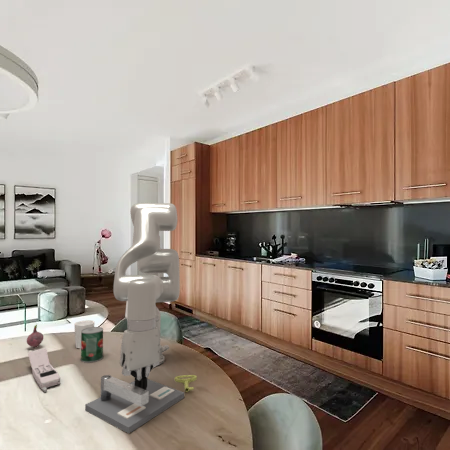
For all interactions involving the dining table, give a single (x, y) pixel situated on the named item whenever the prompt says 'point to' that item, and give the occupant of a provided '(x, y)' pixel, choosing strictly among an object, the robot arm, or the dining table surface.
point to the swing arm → (123, 390)
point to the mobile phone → (43, 369)
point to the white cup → (79, 327)
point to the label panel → (135, 407)
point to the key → (186, 381)
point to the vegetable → (35, 338)
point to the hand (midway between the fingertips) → (140, 391)
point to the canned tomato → (91, 344)
